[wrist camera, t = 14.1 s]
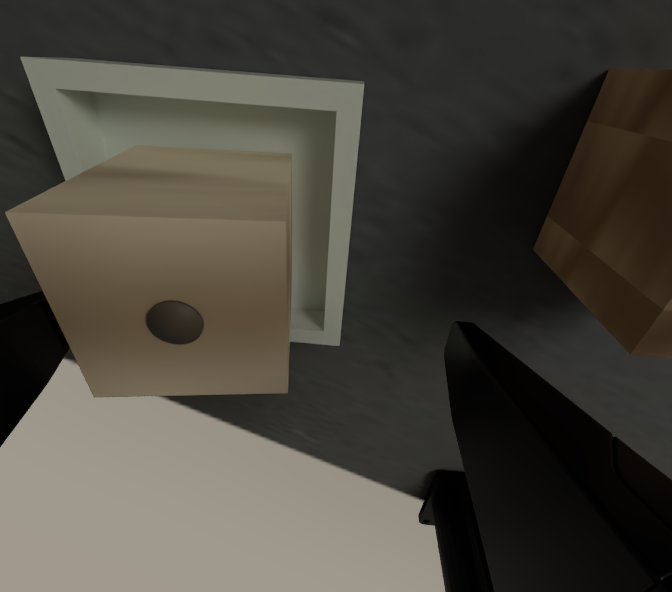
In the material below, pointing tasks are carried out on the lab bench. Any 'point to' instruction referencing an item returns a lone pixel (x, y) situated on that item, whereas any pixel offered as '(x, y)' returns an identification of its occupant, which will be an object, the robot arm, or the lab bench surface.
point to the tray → (225, 147)
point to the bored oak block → (620, 213)
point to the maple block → (169, 270)
